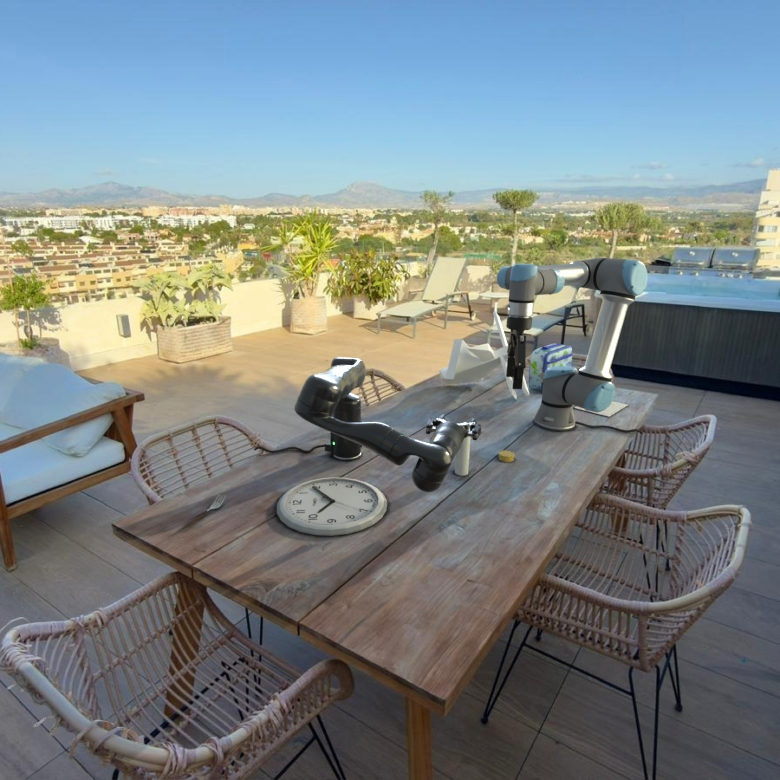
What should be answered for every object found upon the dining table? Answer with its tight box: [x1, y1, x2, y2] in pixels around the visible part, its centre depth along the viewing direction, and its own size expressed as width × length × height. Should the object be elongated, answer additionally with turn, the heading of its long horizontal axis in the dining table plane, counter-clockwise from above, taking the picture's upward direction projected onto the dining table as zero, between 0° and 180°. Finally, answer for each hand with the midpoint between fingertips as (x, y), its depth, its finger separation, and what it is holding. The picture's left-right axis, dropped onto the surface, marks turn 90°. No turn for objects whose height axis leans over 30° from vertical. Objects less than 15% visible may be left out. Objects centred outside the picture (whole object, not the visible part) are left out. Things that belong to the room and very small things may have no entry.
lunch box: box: [528, 343, 574, 392], centre depth 249 cm, size 26×11×21 cm, turn 134°
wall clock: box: [276, 476, 388, 537], centre depth 142 cm, size 30×2×30 cm
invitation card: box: [573, 400, 629, 418], centre depth 226 cm, size 21×1×15 cm
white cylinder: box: [454, 427, 472, 477], centre depth 161 cm, size 4×4×16 cm
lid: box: [498, 450, 515, 463], centre depth 173 cm, size 5×5×2 cm
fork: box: [182, 493, 227, 529], centre depth 136 cm, size 3×16×2 cm, turn 160°
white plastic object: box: [438, 310, 531, 400], centre depth 245 cm, size 37×45×31 cm
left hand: (458, 419), depth 146 cm, fingers open, 8 cm apart
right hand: (513, 382), depth 166 cm, fingers open, 13 cm apart
